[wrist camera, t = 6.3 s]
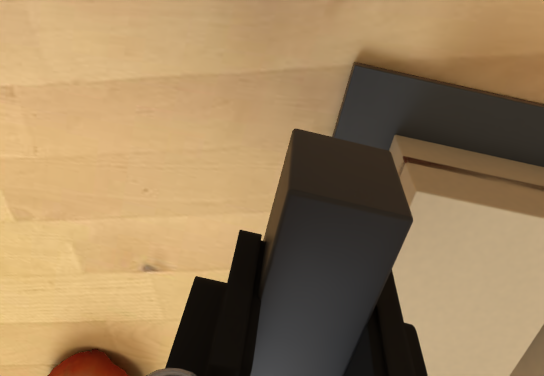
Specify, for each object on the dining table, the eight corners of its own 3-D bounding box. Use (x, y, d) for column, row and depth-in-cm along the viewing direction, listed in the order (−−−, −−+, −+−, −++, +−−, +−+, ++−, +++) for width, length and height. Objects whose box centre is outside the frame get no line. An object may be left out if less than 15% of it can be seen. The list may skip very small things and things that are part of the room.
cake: (353, 61, 24) (367, 106, 18) (696, 138, 25) (813, 205, 19) (278, 320, 33) (272, 406, 27) (532, 372, 33) (579, 466, 28)
